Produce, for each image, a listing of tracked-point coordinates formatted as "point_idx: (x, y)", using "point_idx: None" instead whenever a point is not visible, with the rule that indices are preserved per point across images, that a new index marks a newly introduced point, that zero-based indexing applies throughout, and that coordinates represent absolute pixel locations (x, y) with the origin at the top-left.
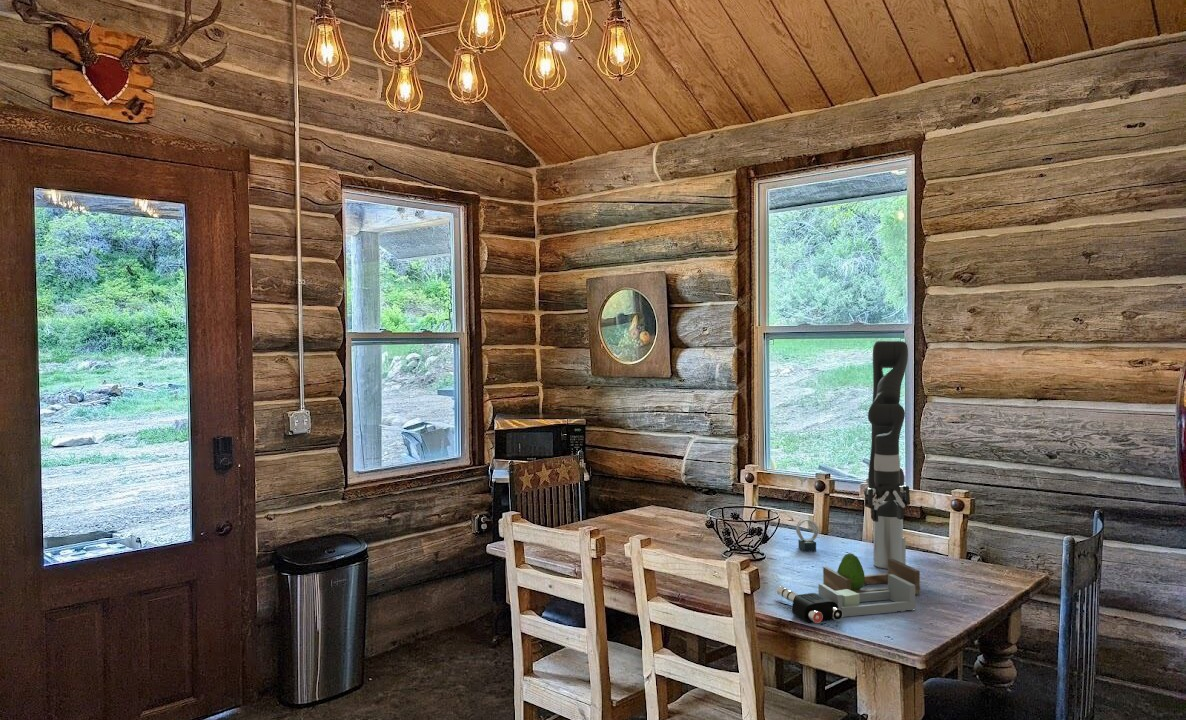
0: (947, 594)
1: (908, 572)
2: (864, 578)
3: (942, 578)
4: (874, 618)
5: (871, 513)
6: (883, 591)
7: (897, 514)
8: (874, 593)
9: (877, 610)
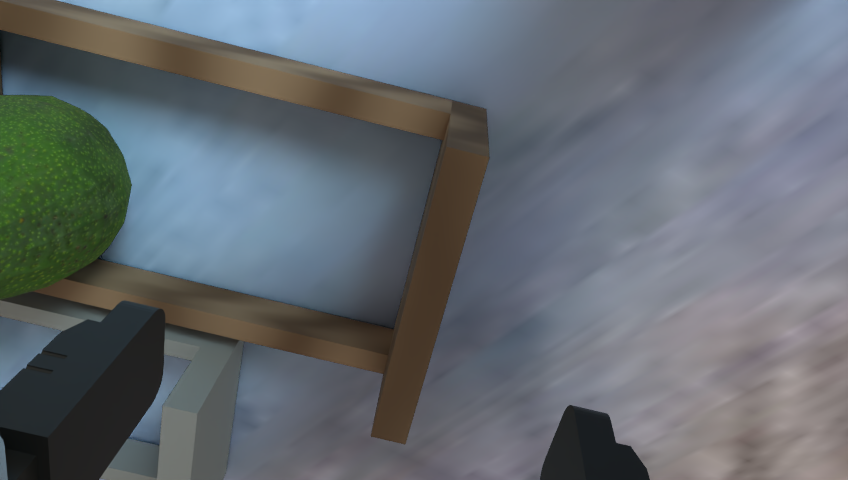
0: (554, 404)
1: (388, 364)
2: (93, 260)
3: (824, 213)
4: None
5: (12, 393)
6: (164, 349)
7: (571, 460)
8: None
9: None
